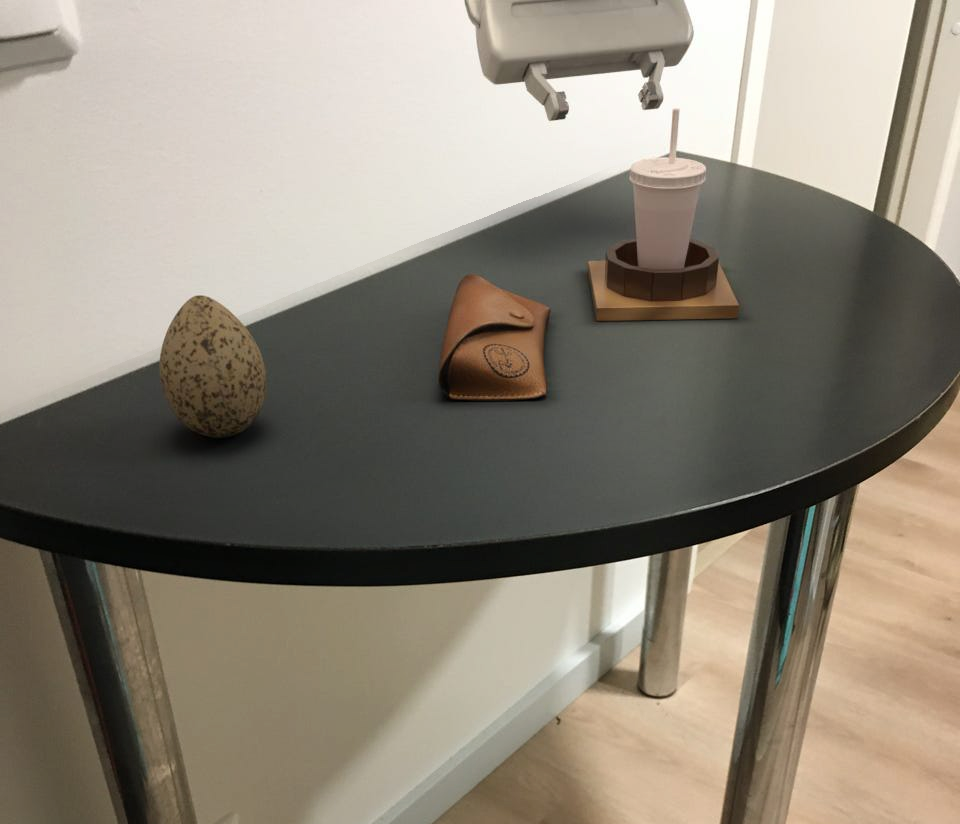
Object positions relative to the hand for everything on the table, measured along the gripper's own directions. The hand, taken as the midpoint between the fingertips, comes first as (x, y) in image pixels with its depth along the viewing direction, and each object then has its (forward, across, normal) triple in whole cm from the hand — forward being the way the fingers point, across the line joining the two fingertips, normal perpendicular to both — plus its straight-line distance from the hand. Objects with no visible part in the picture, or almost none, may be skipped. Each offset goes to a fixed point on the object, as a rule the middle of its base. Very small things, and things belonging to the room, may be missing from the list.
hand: (607, 111), depth 100 cm
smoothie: (+17, 0, 0) cm, 17 cm away
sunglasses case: (+22, -18, -4) cm, 29 cm away
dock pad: (+18, 0, +1) cm, 18 cm away
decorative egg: (+26, -41, -7) cm, 49 cm away
